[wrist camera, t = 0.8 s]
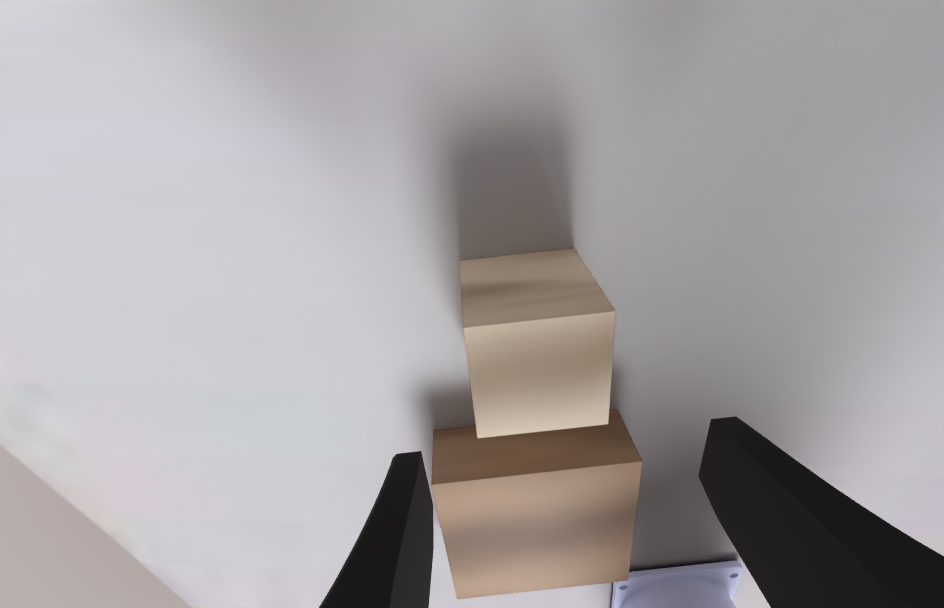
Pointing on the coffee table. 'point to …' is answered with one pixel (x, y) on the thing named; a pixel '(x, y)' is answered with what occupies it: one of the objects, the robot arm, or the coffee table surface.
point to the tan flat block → (536, 507)
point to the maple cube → (536, 342)
